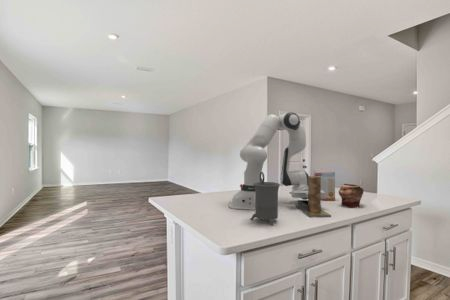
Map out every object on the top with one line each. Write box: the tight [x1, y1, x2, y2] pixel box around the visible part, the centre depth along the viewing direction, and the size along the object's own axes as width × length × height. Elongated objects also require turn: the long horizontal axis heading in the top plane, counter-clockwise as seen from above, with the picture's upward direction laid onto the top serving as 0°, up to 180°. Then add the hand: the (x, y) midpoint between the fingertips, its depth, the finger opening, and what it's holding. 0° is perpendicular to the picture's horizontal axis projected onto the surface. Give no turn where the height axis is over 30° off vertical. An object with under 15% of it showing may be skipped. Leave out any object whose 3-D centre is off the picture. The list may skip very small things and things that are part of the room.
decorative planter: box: [338, 183, 364, 208], centre depth 163 cm, size 20×12×14 cm, turn 116°
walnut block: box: [307, 175, 322, 212], centre depth 144 cm, size 5×6×20 cm
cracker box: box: [312, 170, 336, 202], centre depth 181 cm, size 14×6×21 cm, turn 84°
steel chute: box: [295, 199, 332, 218], centre depth 148 cm, size 12×25×4 cm, turn 1°
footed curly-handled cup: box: [250, 171, 281, 227], centre depth 129 cm, size 19×15×25 cm
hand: (312, 196), depth 147 cm, fingers closed, pressing on walnut block
